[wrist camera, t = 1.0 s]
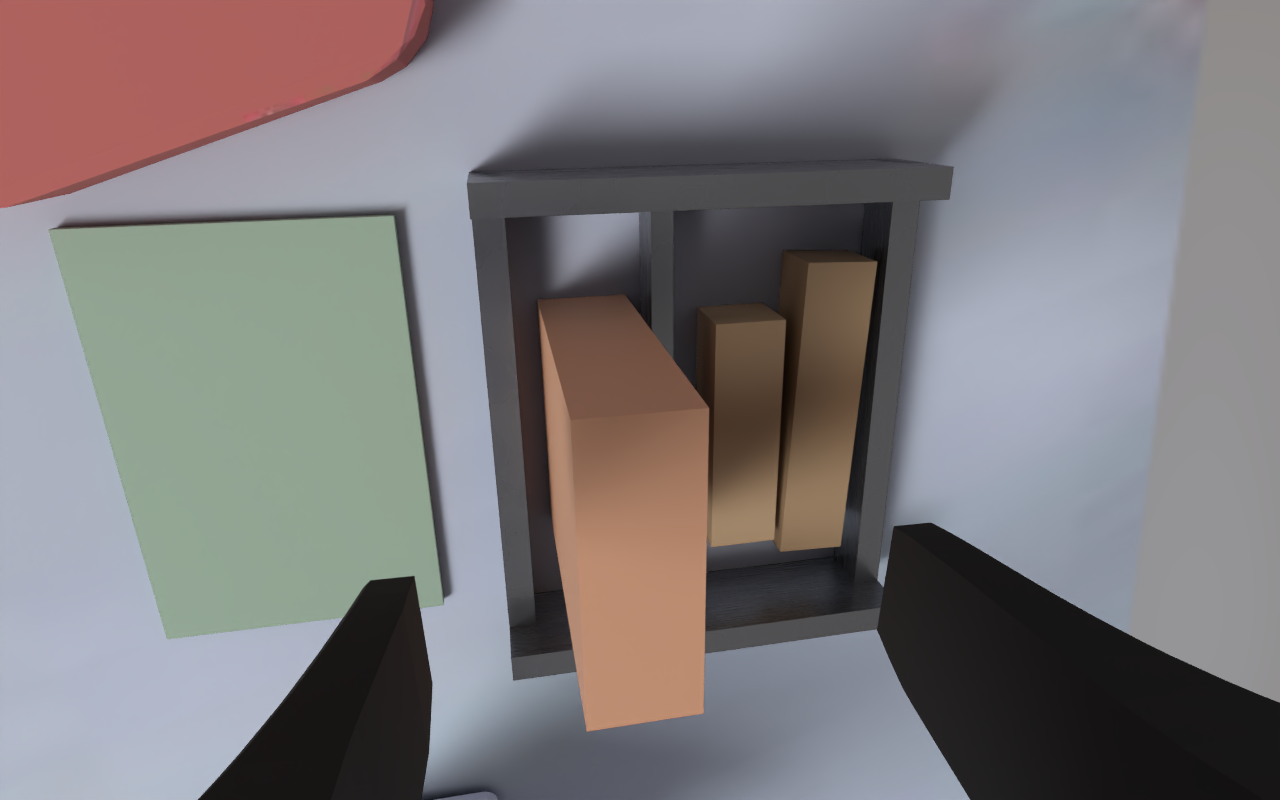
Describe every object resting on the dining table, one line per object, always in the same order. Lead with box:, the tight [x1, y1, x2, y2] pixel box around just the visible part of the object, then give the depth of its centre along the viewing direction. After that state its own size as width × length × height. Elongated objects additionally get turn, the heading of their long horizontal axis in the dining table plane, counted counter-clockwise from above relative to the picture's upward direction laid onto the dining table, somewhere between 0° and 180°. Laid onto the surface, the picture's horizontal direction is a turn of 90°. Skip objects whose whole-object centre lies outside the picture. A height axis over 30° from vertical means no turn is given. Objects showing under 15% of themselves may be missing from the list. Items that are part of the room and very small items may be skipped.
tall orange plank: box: [537, 294, 709, 732], centre depth 19 cm, size 7×2×9 cm, turn 1°
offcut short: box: [696, 303, 786, 547], centre depth 23 cm, size 7×2×2 cm, turn 1°
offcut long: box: [773, 250, 877, 552], centre depth 24 cm, size 9×2×2 cm, turn 179°
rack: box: [467, 159, 953, 681], centre depth 22 cm, size 14×12×3 cm
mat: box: [49, 214, 444, 639], centre depth 22 cm, size 12×8×1 cm, turn 1°
